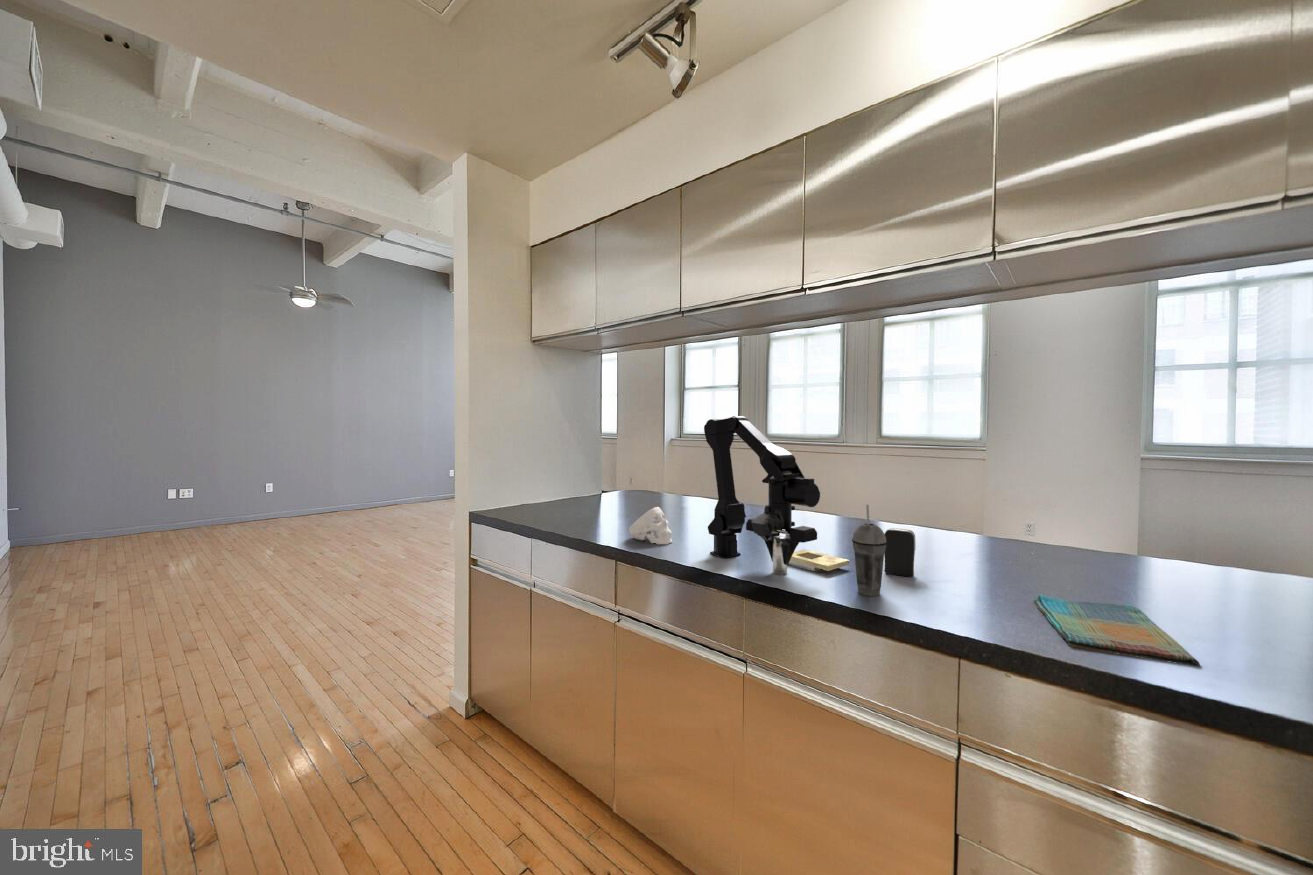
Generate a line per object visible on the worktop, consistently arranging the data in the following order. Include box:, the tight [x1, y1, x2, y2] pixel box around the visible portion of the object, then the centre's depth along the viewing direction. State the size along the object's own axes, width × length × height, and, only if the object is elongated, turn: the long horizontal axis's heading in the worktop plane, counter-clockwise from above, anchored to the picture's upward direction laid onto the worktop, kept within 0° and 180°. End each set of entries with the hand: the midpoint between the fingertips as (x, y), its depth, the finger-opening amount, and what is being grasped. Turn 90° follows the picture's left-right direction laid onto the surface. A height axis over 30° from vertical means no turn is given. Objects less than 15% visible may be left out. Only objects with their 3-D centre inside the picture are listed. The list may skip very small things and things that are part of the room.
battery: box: [883, 527, 916, 578], centre depth 126 cm, size 7×4×11 cm, turn 55°
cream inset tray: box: [787, 548, 850, 573], centre depth 135 cm, size 18×9×2 cm, turn 36°
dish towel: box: [1033, 594, 1201, 667], centre depth 92 cm, size 17×23×2 cm
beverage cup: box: [851, 504, 887, 597], centre depth 112 cm, size 7×7×20 cm
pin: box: [772, 535, 788, 576], centre depth 128 cm, size 4×4×9 cm
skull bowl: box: [628, 506, 673, 545], centre depth 163 cm, size 10×14×12 cm
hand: (779, 562), depth 128 cm, fingers closed on pin, 4 cm apart
